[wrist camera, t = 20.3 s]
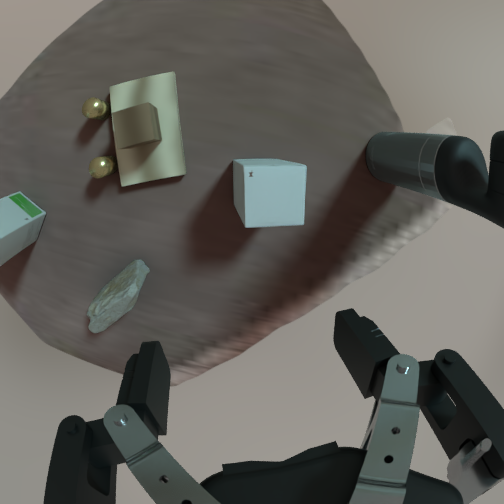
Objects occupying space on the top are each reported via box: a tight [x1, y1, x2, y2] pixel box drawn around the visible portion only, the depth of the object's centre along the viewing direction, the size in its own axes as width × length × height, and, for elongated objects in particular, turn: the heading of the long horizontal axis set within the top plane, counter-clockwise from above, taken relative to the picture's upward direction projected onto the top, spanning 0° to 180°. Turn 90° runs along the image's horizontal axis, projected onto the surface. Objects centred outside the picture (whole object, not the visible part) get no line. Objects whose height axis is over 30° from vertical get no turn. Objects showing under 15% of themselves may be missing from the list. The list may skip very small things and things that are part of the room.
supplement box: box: [233, 159, 307, 228], centre depth 36 cm, size 7×7×13 cm
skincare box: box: [0, 192, 46, 266], centre depth 30 cm, size 8×7×16 cm
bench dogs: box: [82, 98, 118, 178], centre depth 33 cm, size 3×12×5 cm, turn 6°
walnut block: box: [112, 102, 162, 149], centre depth 32 cm, size 5×5×6 cm
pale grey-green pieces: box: [110, 72, 186, 187], centre depth 36 cm, size 10×16×2 cm, turn 6°
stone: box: [87, 260, 150, 333], centre depth 40 cm, size 14×6×10 cm, turn 122°
